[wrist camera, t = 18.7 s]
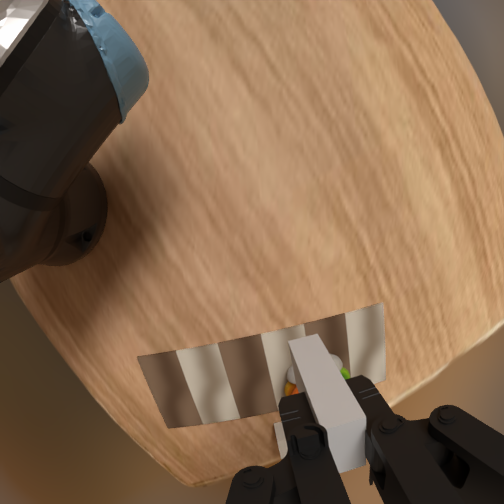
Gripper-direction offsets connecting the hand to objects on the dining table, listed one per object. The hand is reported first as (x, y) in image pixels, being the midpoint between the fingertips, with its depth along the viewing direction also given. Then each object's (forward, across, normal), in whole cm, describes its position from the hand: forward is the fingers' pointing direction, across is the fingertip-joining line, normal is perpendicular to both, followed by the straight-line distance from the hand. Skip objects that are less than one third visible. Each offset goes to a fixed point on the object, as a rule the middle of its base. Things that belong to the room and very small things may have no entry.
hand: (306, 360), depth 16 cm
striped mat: (+26, -2, -18) cm, 32 cm away
